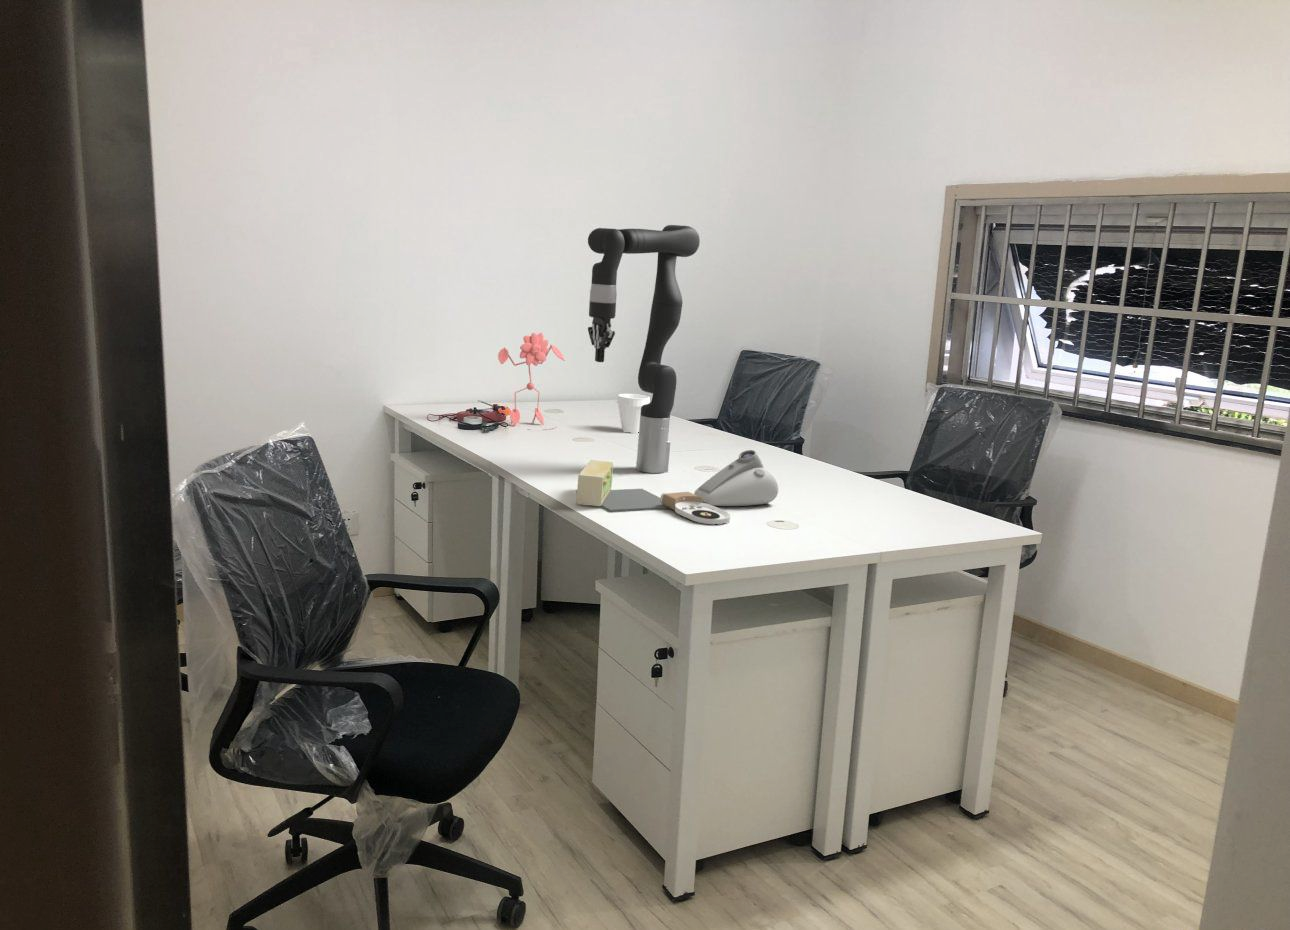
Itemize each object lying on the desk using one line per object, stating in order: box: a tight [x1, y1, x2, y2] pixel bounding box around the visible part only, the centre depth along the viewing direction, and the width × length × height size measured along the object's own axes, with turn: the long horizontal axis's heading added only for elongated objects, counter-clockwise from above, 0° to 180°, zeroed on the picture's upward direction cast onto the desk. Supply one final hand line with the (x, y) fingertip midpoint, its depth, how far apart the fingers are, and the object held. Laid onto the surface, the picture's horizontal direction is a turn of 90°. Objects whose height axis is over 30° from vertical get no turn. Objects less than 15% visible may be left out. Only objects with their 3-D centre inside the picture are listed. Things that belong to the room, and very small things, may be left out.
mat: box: [599, 488, 672, 513], centre depth 270 cm, size 20×20×1 cm
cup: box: [616, 393, 651, 434], centre depth 377 cm, size 12×12×14 cm
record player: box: [660, 490, 731, 525], centre depth 261 cm, size 12×3×20 cm
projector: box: [693, 449, 779, 507], centre depth 279 cm, size 22×23×15 cm
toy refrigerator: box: [576, 459, 614, 507], centre depth 269 cm, size 8×7×21 cm
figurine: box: [497, 332, 565, 431], centre depth 368 cm, size 15×26×35 cm, turn 125°
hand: (599, 361), depth 286 cm, fingers closed
